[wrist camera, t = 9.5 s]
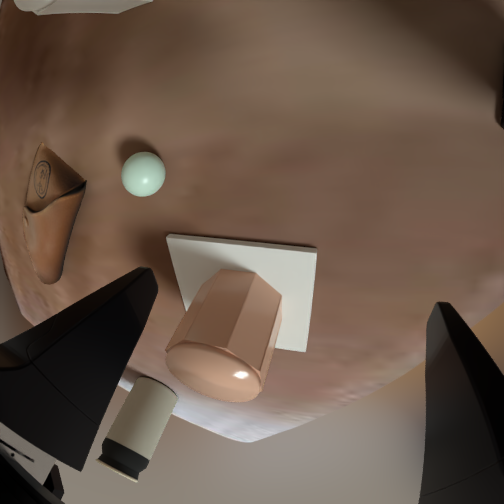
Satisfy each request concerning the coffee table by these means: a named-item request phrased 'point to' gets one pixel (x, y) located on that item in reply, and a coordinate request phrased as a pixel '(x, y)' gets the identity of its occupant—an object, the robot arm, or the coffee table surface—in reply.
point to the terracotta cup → (227, 337)
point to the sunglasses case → (50, 212)
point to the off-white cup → (78, 6)
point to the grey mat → (256, 261)
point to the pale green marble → (143, 174)
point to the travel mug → (137, 428)
